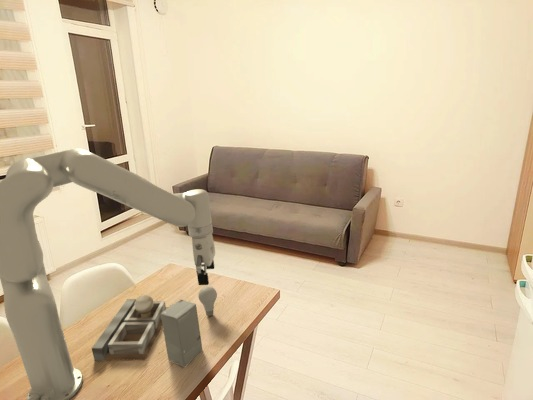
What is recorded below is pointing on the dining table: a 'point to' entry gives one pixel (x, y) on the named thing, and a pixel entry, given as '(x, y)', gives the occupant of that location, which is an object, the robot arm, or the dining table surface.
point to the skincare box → (181, 332)
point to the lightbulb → (208, 299)
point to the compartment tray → (131, 331)
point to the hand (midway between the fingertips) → (206, 276)
